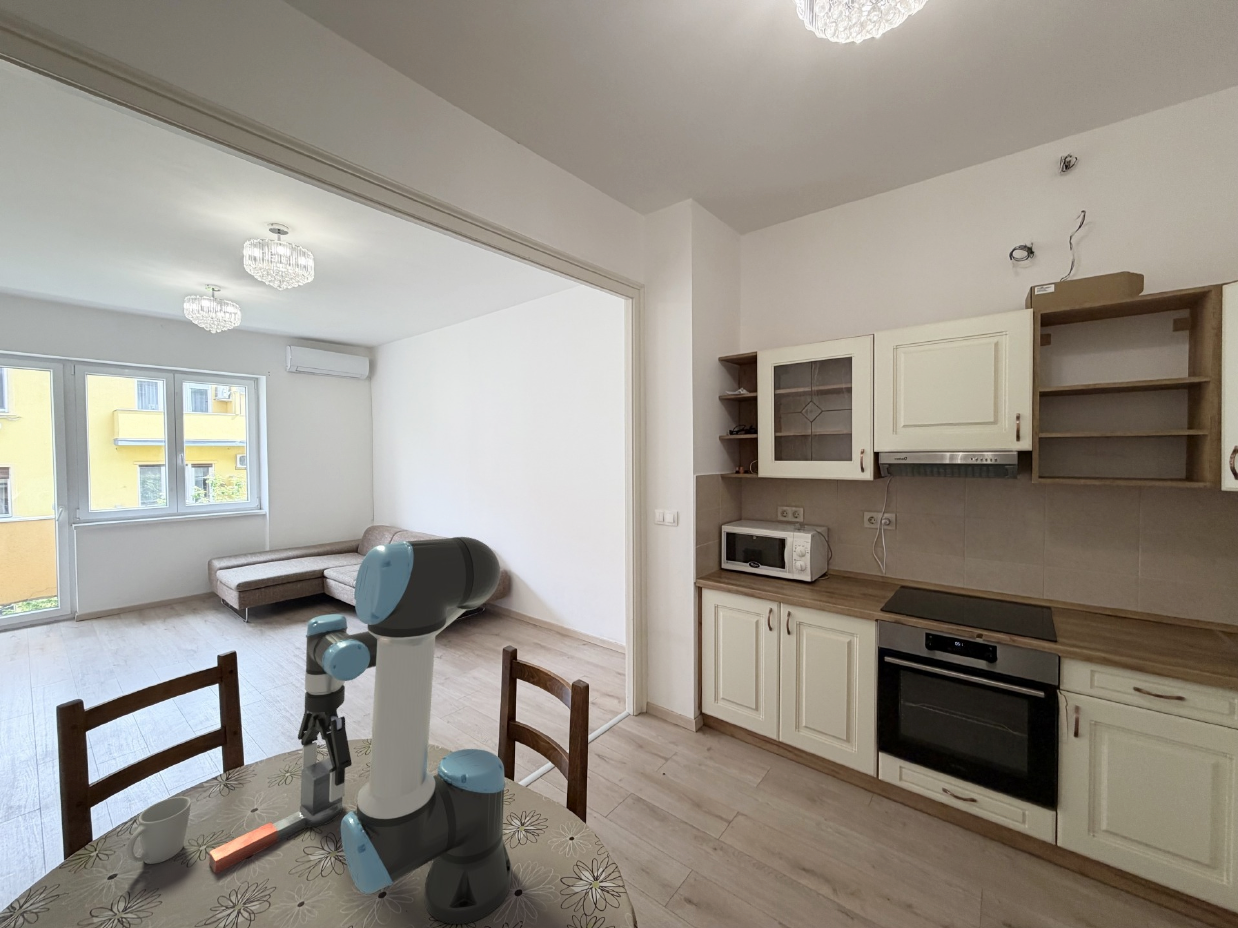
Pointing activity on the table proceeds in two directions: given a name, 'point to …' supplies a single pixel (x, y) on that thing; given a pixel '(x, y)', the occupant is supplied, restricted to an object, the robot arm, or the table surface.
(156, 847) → the cup
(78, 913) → the table surface
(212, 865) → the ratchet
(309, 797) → the grey rectangular block
